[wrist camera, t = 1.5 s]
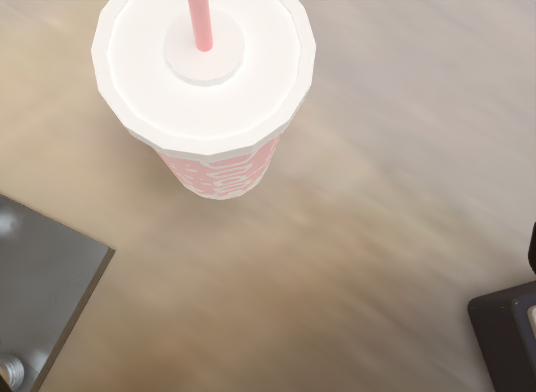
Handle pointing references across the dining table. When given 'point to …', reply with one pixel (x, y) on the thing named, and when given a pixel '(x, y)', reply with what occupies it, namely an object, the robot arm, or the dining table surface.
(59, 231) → the chassis plate
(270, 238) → the dining table surface
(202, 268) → the dining table surface
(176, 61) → the beverage cup
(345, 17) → the dining table surface
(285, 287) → the dining table surface
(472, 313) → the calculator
